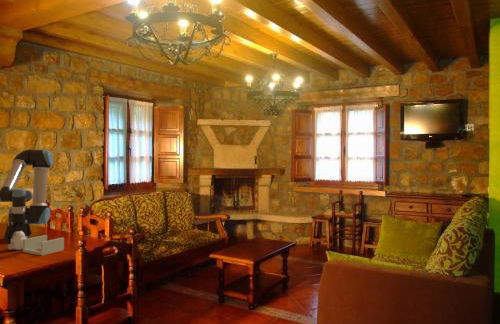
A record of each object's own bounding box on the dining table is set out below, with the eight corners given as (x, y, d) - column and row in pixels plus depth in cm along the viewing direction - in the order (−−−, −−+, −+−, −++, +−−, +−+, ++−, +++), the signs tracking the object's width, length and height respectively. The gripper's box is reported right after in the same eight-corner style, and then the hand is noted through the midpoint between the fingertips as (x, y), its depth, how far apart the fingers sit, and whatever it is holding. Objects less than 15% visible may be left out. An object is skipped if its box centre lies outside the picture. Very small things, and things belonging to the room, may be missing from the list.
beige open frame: (22, 252, 256) (23, 239, 256) (45, 246, 271) (45, 235, 271) (42, 255, 249) (42, 242, 249) (64, 250, 265) (64, 237, 264)
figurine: (29, 247, 269) (29, 229, 268) (24, 251, 259) (24, 232, 259) (13, 247, 267) (13, 229, 267) (7, 251, 257) (7, 232, 257)
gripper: (5, 215, 250) (5, 251, 250) (38, 211, 271) (37, 244, 271) (-3, 214, 253) (-3, 250, 253) (30, 210, 274) (29, 243, 274)
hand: (17, 247), depth 262 cm, fingers closed on figurine, 10 cm apart
